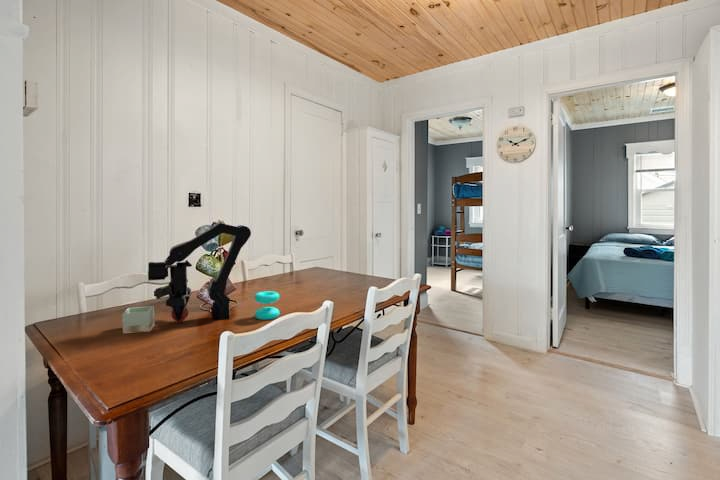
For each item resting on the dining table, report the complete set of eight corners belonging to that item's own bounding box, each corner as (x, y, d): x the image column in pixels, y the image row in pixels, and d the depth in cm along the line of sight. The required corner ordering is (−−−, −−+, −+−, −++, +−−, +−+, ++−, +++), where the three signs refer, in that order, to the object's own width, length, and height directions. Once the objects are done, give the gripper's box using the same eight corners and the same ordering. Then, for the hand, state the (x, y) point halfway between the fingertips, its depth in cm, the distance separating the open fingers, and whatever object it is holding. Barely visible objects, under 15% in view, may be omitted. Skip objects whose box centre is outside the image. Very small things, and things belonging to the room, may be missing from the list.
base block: (155, 325, 143) (154, 317, 143) (150, 332, 135) (149, 324, 135) (129, 327, 141) (129, 319, 140) (123, 334, 133) (122, 326, 132)
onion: (181, 325, 142) (181, 304, 141) (168, 324, 143) (167, 303, 142) (191, 320, 148) (190, 301, 147) (178, 319, 149) (177, 300, 148)
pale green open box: (154, 317, 143) (153, 306, 143) (149, 324, 135) (149, 312, 135) (128, 319, 140) (128, 307, 140) (122, 326, 132) (122, 314, 132)
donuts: (259, 297, 146) (250, 292, 154) (260, 322, 147) (251, 316, 155) (283, 294, 152) (273, 289, 160) (283, 318, 153) (273, 312, 161)
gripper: (160, 274, 150) (162, 312, 152) (149, 284, 133) (151, 327, 134) (190, 273, 154) (191, 310, 155) (183, 282, 136) (184, 324, 137)
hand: (179, 317), depth 145 cm, fingers closed on onion, 6 cm apart
